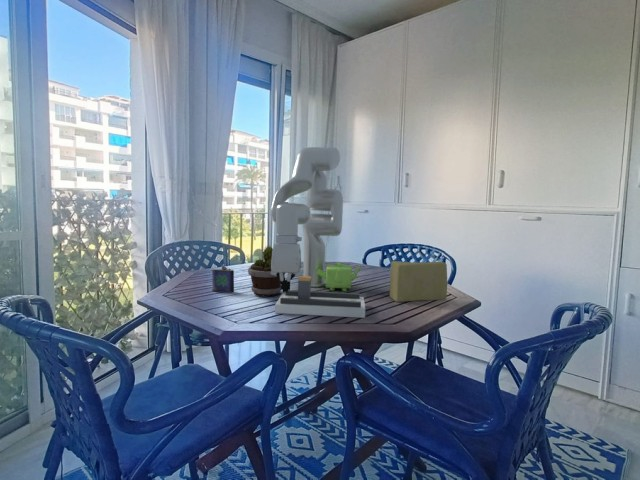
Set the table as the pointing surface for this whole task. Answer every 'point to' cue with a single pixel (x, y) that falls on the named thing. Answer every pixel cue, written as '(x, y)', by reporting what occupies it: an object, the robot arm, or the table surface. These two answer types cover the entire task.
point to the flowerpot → (264, 276)
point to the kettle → (338, 276)
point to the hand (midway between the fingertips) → (285, 291)
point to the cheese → (418, 281)
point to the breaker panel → (321, 308)
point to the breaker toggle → (304, 287)
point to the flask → (223, 280)
